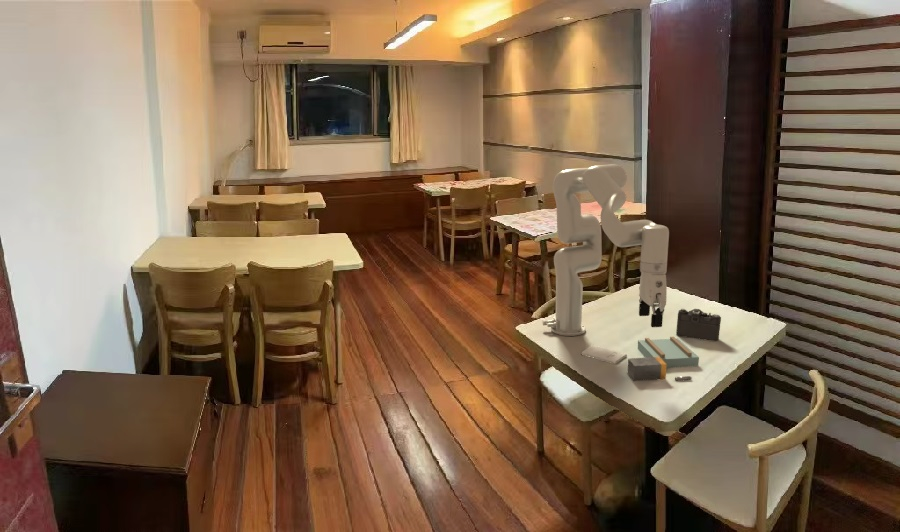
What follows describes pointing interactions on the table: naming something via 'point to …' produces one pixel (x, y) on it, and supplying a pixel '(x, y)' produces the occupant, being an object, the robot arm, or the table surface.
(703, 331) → the camera
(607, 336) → the table surface
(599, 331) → the table surface
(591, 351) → the external hard drive
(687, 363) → the stand
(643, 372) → the block
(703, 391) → the table surface
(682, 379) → the grey metal rounded bar
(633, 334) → the table surface
